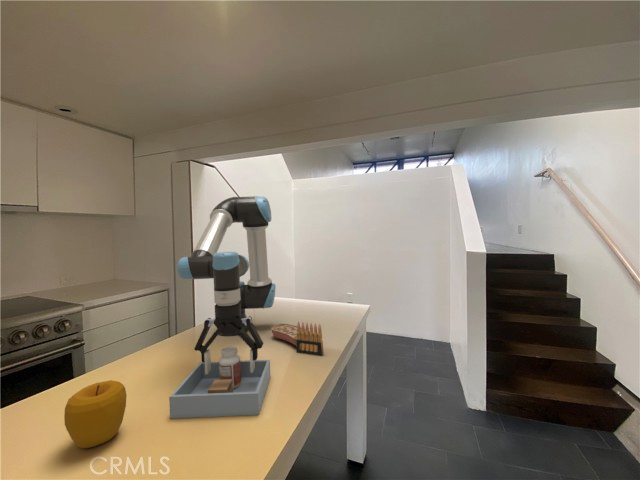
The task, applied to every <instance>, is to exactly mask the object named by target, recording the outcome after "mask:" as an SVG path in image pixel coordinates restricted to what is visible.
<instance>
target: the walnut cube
mask: <svg viewBox="0 0 640 480" xmlns="http://www.w3.org/2000/svg"><path fill="white" fill-rule="evenodd" d="M210 393H233V380H232V379H225V380H214V382H213V383H212V385H211V386H210V388H209V389H208V394H210Z"/></svg>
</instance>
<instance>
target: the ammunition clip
mask: <svg viewBox="0 0 640 480" xmlns="http://www.w3.org/2000/svg"><path fill="white" fill-rule="evenodd" d="M308 323H309V322H306V323H305V324H304V321H302V322H301V324H300V322H299V321H298V322H297V324H296V325H297V346H296V345H295V346H296V347H295V348H296V350H295V351H296V353H297V354H304V355H310V356H317V357H318V356H320V357H322V356H323V355H324V344H323V343H324V341H323V333H322V325H321V323H319V324H318V326H317V324H316V322H315V323H314V325H313V323H312V322H310V325H309V324H308ZM313 326H314V327H313ZM300 327H301V330H300ZM305 329H306V332H305ZM309 331H310V333H309Z"/></svg>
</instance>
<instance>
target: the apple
mask: <svg viewBox="0 0 640 480" xmlns="http://www.w3.org/2000/svg"><path fill="white" fill-rule="evenodd" d="M127 396H128V395H127V390H126V387H125V385H124V384H123V383H122V382H121V381H117V380H113V379H112V380H111V379H110V380H106V381H100V382H96V383H92V384H90V385H87V386H85V387H83V388H81V389H79V391H76V392H75V393H74V394H72V395H71V396H70V397H69V398H68V400H67V402H66V405H65V407H64V419H63V420H64V426H65V428H66V431H67V433H68V435H69V437H70V439H71V440H72V441H73V443H74V444H75V446H77V447H79V448H80V449H89V448H93V447H97V446H100V445H102V444H104V443H106V442H109V440H111V439H113V437H115V435H116V434H118V433H117V432H118V431H119V430H120V428H121V426H122V424H123V420H124V416H125V412H126V407H127Z"/></svg>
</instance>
